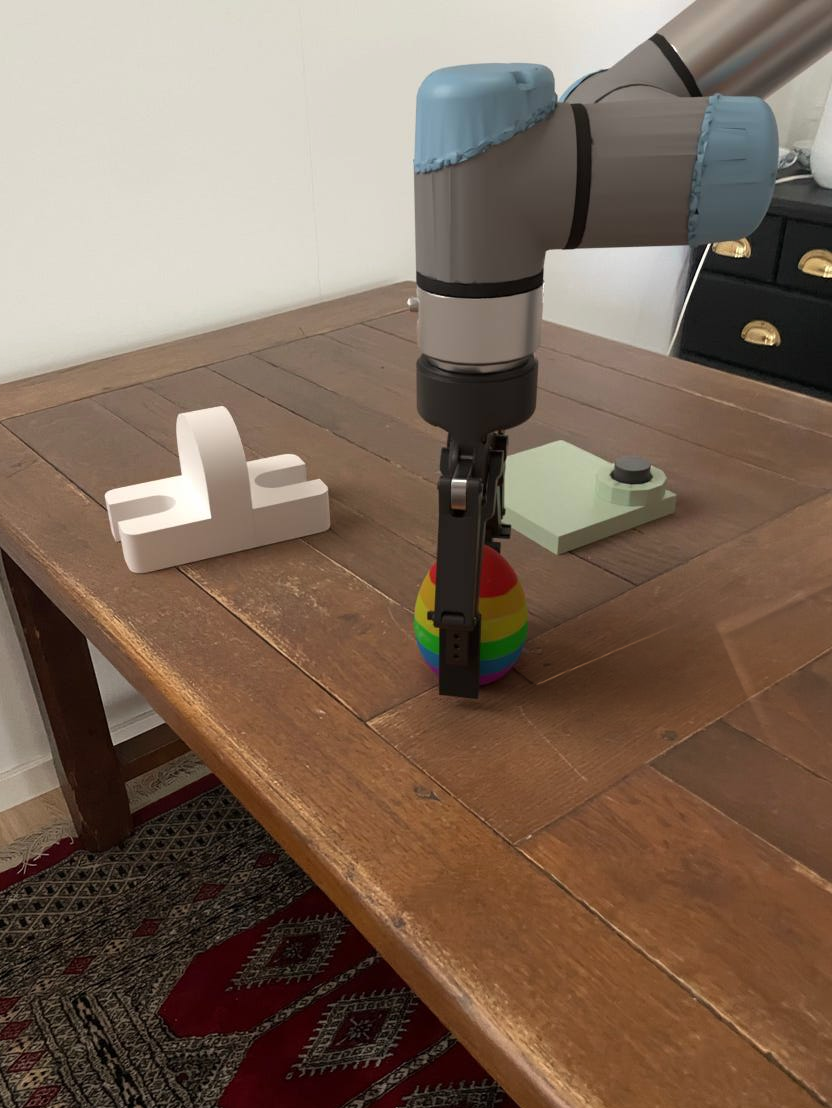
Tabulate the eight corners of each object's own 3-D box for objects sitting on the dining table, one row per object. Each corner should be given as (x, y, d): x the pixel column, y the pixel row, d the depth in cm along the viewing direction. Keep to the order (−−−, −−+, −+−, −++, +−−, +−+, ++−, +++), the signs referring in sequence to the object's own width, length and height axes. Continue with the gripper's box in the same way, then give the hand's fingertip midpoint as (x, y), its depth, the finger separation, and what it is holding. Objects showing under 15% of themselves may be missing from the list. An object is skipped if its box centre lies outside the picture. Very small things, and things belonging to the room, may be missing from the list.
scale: (675, 513, 95) (680, 478, 93) (557, 556, 89) (560, 520, 87) (560, 456, 106) (563, 424, 104) (449, 491, 101) (450, 458, 99)
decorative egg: (414, 698, 73) (413, 577, 67) (414, 635, 80) (413, 520, 74) (530, 698, 72) (538, 575, 67) (520, 634, 79) (526, 518, 73)
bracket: (297, 487, 103) (288, 377, 96) (334, 529, 95) (327, 411, 89) (109, 527, 97) (86, 413, 91) (132, 575, 89) (109, 453, 83)
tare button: (656, 480, 93) (658, 464, 92) (630, 489, 92) (632, 473, 91) (631, 468, 96) (633, 453, 95) (605, 477, 94) (607, 461, 93)
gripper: (447, 300, 73) (445, 574, 85) (377, 416, 55) (387, 741, 67) (554, 303, 71) (536, 582, 83) (518, 424, 53) (502, 755, 66)
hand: (469, 653), depth 75 cm, fingers open, 9 cm apart
